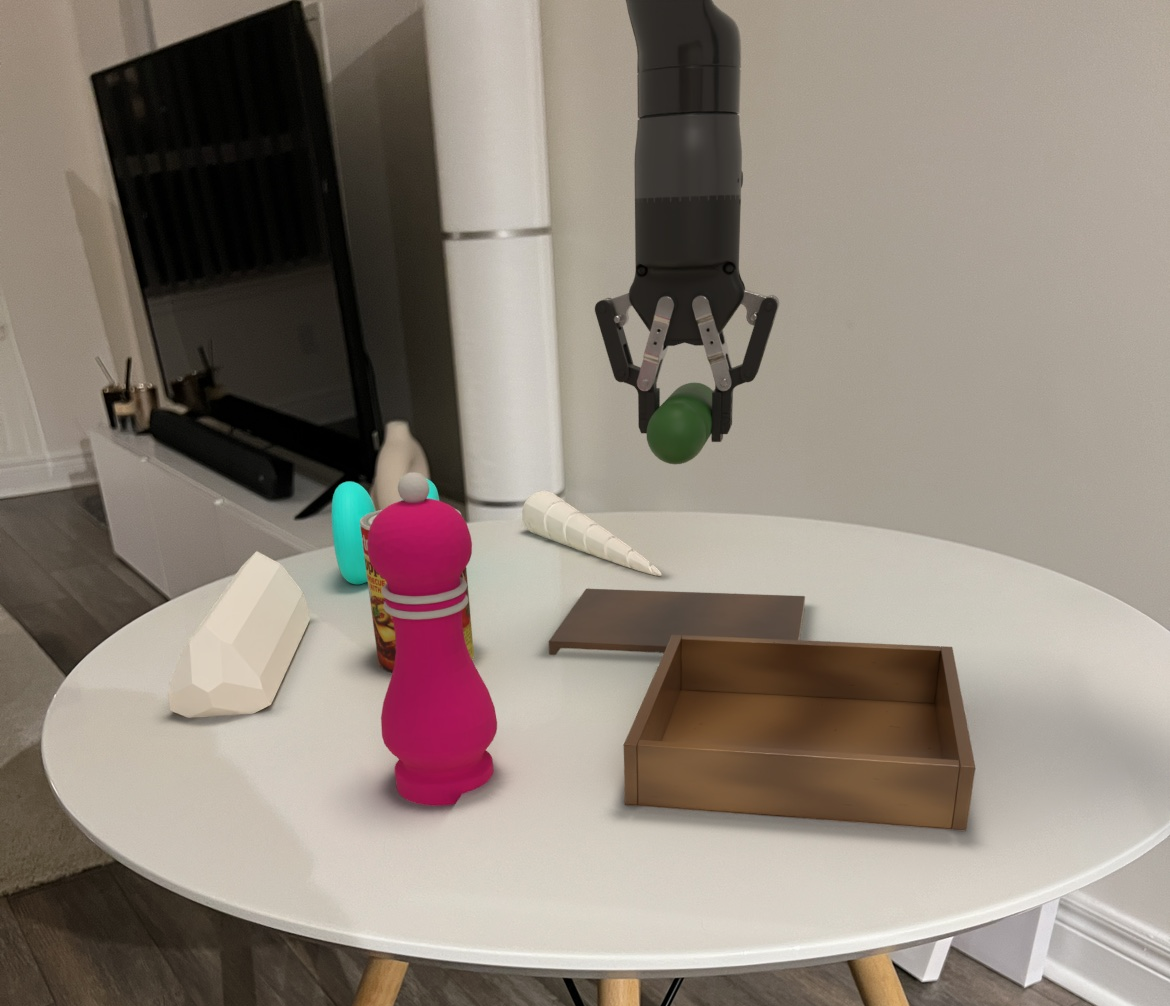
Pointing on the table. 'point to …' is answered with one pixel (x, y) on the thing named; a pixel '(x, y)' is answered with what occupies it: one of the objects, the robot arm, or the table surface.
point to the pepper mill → (430, 650)
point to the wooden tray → (804, 732)
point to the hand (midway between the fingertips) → (685, 438)
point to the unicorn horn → (578, 531)
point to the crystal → (241, 644)
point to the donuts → (354, 528)
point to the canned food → (384, 620)
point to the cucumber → (681, 424)
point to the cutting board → (673, 619)
